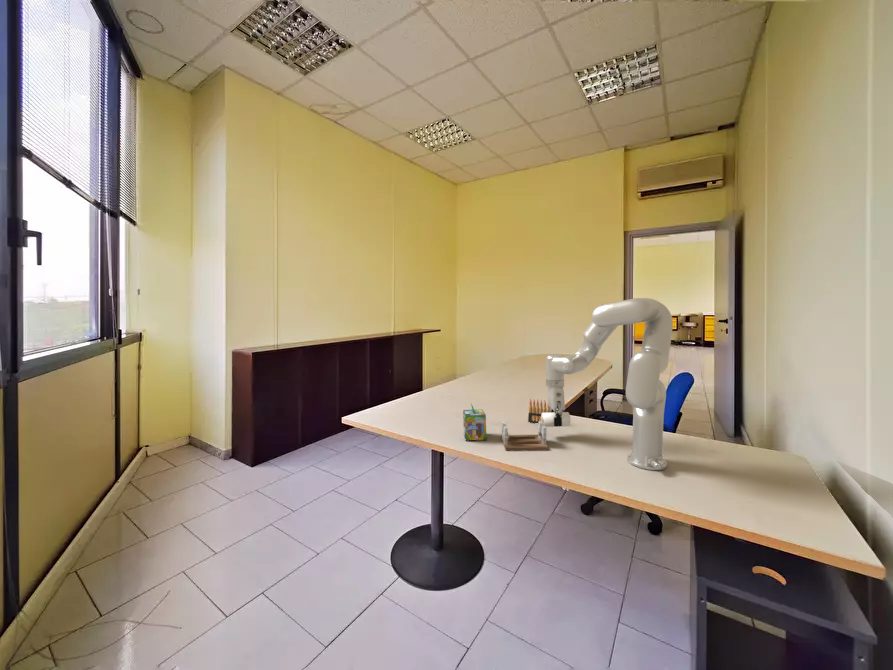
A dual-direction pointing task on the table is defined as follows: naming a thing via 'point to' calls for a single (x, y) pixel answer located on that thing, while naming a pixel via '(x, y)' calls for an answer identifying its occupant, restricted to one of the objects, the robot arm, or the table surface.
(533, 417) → the ammunition clip
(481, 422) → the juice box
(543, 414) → the roll
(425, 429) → the table surface
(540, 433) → the holder
